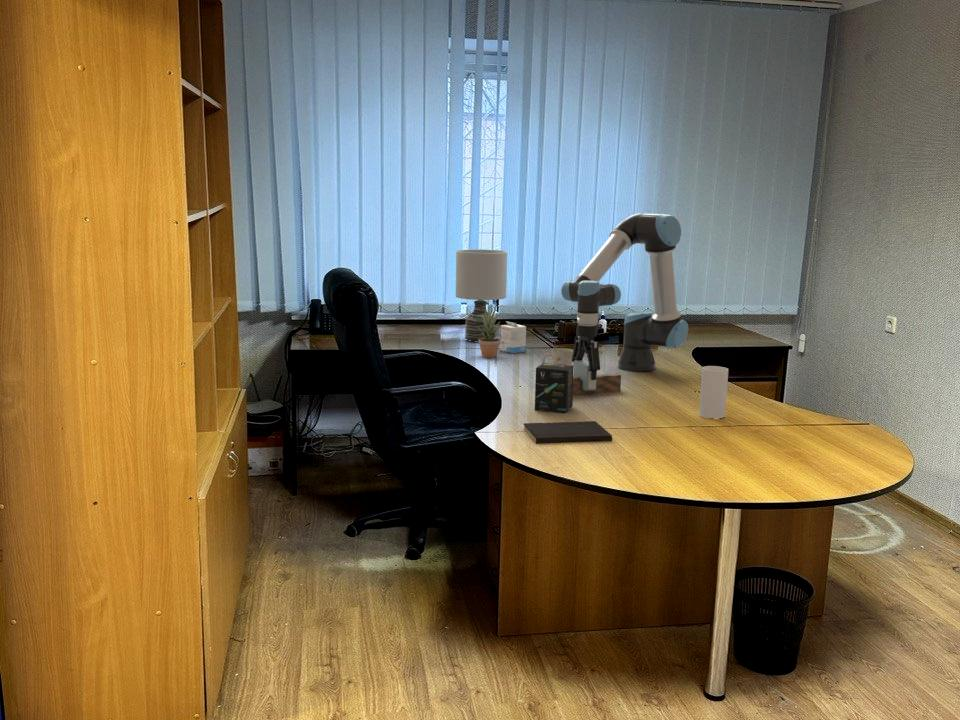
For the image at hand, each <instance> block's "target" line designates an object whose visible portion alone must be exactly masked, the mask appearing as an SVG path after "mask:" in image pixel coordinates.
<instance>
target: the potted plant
mask: <svg viewBox="0 0 960 720" xmlns="http://www.w3.org/2000/svg"><path fill="white" fill-rule="evenodd" d="M489 301H490V300H487V312H488V317H487V314H486V311H485V315H486V319H485V317H484V316H483V317H484V319H483V322H484V326H485V328H486V329H484V328H483V329H484V331H485V332H483V331H482V330H481V329H480V328H479V327H478V328H479V329H480V330H481V331H482V332H483V333H482V332H481V333H482V335H483V336H484V337H485V338H484V337H483V338H482V339H479V340H478V342H477V343H478V344H479V348H480V352H481V353H480V354H481V356H482V357H483V356H484V357H483V358H495V356H497V354H498V351H499V346H500V345H501V339H500V338H496V337H497V336H498V334H499V331H498V330H499V329H500V328H501V325H499V324H500V323H501V321H498V323H496V321H497V319H498V316H499V313H496V309H497V304H498V303H497V302H496V303H495V305H494V308H493V311H492V312H490V302H489ZM495 314H496V316H495ZM490 315H491V316H492V317H491V316H490ZM495 323H496V324H495ZM494 324H495V326H494ZM493 326H494V327H493Z"/></svg>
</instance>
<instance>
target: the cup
mask: <svg viewBox="0 0 960 720" xmlns="http://www.w3.org/2000/svg"><path fill="white" fill-rule="evenodd" d="M701 370H702V371H701V381H700V382H701V385H700V396H699V397H700V398H699V413H698V416H699V415H700V416H702V417H701V418H703V417H706V418H705V419H707V418H723V417H726V407H727V394H728V380H729V368H727V367H723V366H719V365H718V366H717V365H707V366H706V365H705V366H702V369H701ZM700 416H699V417H700ZM723 419H724V418H723Z"/></svg>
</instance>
